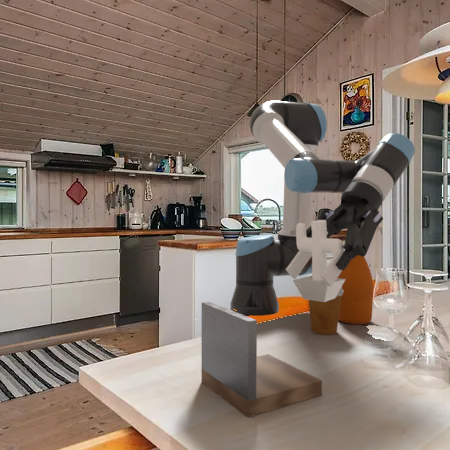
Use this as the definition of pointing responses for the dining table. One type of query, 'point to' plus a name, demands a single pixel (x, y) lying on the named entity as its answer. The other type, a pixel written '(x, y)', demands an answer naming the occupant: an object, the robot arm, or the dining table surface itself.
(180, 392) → the dining table surface
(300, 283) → the figurine
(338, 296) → the disposable coffee cup
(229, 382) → the grey metal bookend
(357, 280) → the wine bottle
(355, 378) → the dining table surface
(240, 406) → the walnut shelf board
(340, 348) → the dining table surface
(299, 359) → the dining table surface
